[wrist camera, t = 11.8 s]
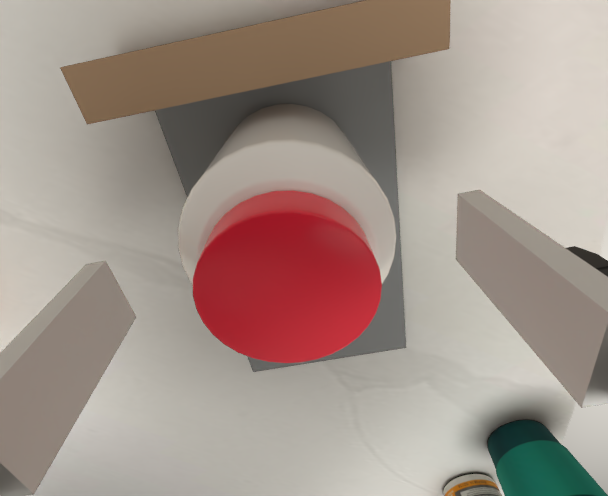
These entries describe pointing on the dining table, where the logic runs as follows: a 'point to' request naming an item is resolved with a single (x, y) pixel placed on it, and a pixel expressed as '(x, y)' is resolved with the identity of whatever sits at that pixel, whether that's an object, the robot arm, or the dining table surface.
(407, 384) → the dining table surface
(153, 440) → the dining table surface
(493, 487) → the pill bottle
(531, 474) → the cup
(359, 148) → the track
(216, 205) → the pill bottle
